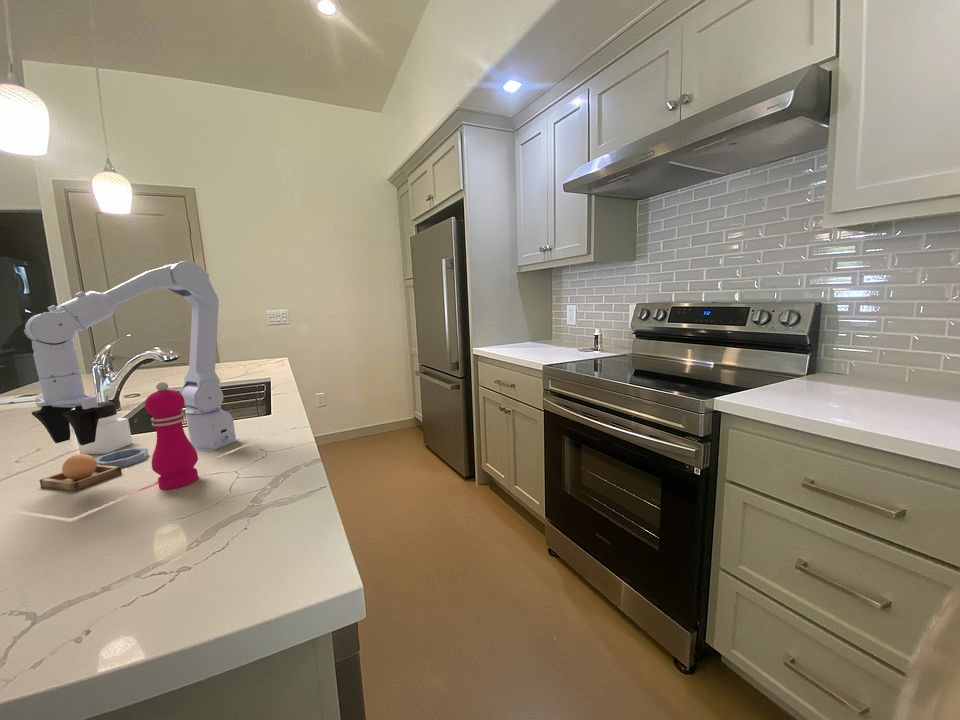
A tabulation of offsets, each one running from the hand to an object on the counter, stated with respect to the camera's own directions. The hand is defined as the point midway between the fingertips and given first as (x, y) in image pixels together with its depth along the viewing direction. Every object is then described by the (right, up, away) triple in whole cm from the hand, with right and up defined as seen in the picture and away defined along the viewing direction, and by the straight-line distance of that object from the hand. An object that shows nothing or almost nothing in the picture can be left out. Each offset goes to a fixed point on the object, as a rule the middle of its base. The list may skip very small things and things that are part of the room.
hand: (75, 442), depth 82 cm
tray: (0, -8, +1) cm, 8 cm away
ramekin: (0, -7, +11) cm, 13 cm away
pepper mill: (+22, -8, -1) cm, 23 cm away
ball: (0, -8, +1) cm, 8 cm away
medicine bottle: (-12, -6, +21) cm, 25 cm away
